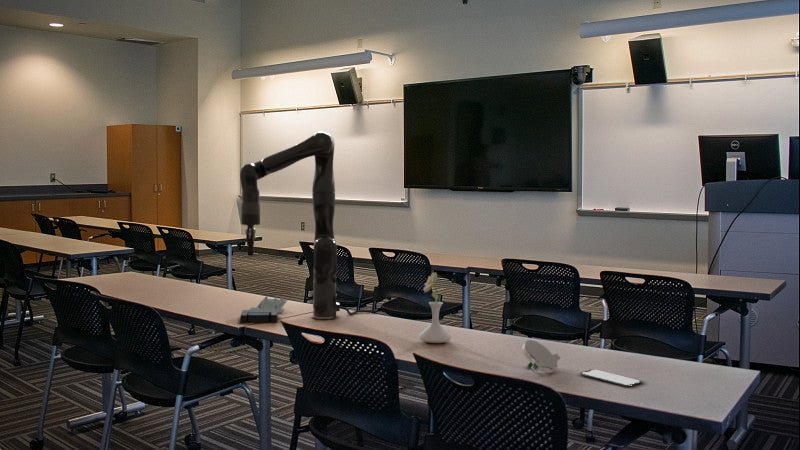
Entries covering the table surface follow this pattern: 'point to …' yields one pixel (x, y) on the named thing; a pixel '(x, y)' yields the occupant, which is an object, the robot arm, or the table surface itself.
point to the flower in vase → (434, 318)
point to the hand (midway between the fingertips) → (250, 255)
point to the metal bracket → (271, 304)
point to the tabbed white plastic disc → (539, 357)
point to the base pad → (271, 312)
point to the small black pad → (258, 317)
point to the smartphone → (610, 377)
